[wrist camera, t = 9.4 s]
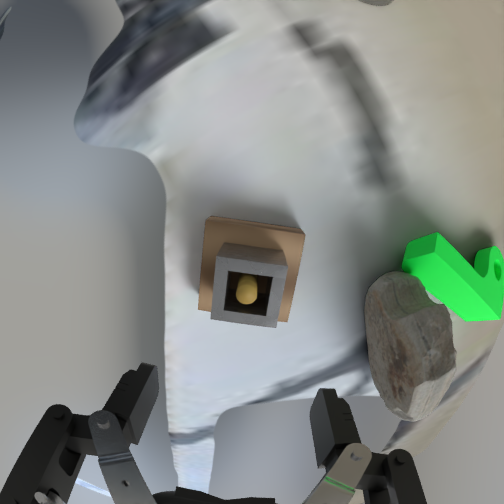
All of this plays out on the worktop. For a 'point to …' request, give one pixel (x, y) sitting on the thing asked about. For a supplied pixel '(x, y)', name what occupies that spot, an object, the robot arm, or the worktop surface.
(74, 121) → the worktop surface
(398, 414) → the stone
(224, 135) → the worktop surface
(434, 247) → the bracket
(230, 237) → the keeper
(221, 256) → the link
